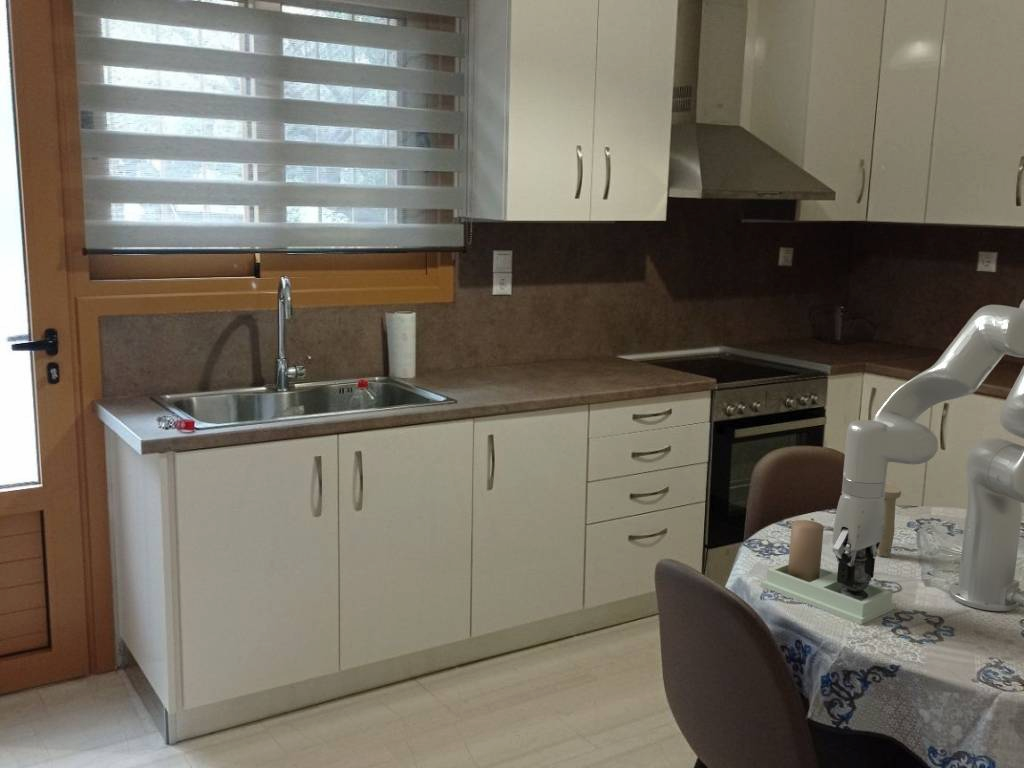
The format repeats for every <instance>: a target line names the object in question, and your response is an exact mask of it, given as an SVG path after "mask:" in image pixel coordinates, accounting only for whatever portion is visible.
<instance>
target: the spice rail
mask: <svg viewBox="0 0 1024 768" xmlns="http://www.w3.org/2000/svg"><path fill="white" fill-rule="evenodd" d="M824 527H825V526H824V525H823V524H822V523H821V522H820V523H819V522H818V521H814V520H807V519H800V520H793V521H792V522H791V527H790V528H791V529H790V539H789V540H790V541H789V553H788V561H786V562H783V563H781V564H778V565H776V566H773V567H770V568H767V569H766V579H765V580H762V581H761V582H760V587H761V588H764V589H765V590H766V589H767V590H769V591H771V590H772V591H771V592H774V591H775V593H776V594H779V593H780V595H783V596H784V595H785V596H784V597H787V598H790V597H791V598H790V599H792V598H793V599H792V600H795V599H796V600H795V601H797V602H800V601H801V602H800V603H803V604H805V603H806V605H808V604H809V605H808V606H811V605H812V606H811V607H813V606H815V607H814V608H816V607H817V609H819V608H820V609H819V610H821V609H822V611H824V610H825V611H824V612H826V611H827V613H830V614H832V615H834V616H837V617H839V616H840V617H839V618H842V617H843V618H842V619H844V620H847V621H850V622H853V623H856V624H858V625H860V626H861V625H864V624H866V623H868V622H870V621H872V620H874V619H876V618H878V617H880V616H883V615H885V614H888V613H889V612H891V611H894V610H897V605H898V604H897V602H894V601H892V600H893V592H894V591H893V590H890V589H889V588H888V589H887V588H884V587H881V586H879V585H876V584H873V583H870V582H869V585H868V587H867V588H866V589H864V591H865V592H866V593H867V594H868V597H867V598H866V599H861V600H857V599H854V598H851V597H848V596H846V595H843V594H840V593H839V590H840V589H842V588H844V586H843V585H842V584H841V583H839V582H837V573H838V571H836V570H832V569H829V568H826V567H824V566H821V562H822V551H823V550H822V549H823V542H824V541H823V538H824V530H825V529H824ZM893 609H894V610H893Z"/></svg>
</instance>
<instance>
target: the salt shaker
mask: <svg viewBox="0 0 1024 768" xmlns="http://www.w3.org/2000/svg"><path fill="white" fill-rule="evenodd" d="M849 548H851V545H849ZM865 551H866V548H864V549H861V550H858V551H857V553H856V557H855V560H854V564H853V565H854V566H855V577H854V585H853V586H851V587H850V586H847V585H845V584H842V583H841V584H842V585H843V586H844V588H842V589H840V590H839V593H840V594H843V595H846V596H848V597H851V598H854V599H857V600H861V599H866V598H867V597H868V594H867V593H866V592H865V591H864V589H866V588H867V587H868V585H869V583H870V582H871V581H872V578H871V576H870V575H868V574H866V573H865V570H864V566H865V560H866V559H867V557H866V556H865ZM850 553H851V552H850V551H848V553H846V554H847V555H848V557H849V556H850Z"/></svg>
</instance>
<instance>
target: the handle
mask: <svg viewBox="0 0 1024 768" xmlns="http://www.w3.org/2000/svg"><path fill="white" fill-rule="evenodd" d="M901 495H902V489H901V488H900V487H899V486H897V485H895V484H887V483H886V487H885V498H884V522H883V533H884V535H883V537H882V539H881V541H880V544H879V546H878V548H877V556H878V557H883V558H884V557H885V558H887V557H889V556H890V555H891V553H892V547H893V542H894V536H895V525H896V524H895V521H896V520H895V519H896V502H897V501H896V500H897V499H898V498H901Z"/></svg>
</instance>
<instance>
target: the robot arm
mask: <svg viewBox="0 0 1024 768" xmlns="http://www.w3.org/2000/svg"><path fill="white" fill-rule="evenodd" d="M1005 355H1008V356H1012V357H1016V358H1024V299H1022V301H1021V303H1020V304H1019V307H1014V306H1009V305H1004V304H1003V305H1002V304H988V305H985V306H984V305H983V306H982V307H980V308H979V309H978V310H976V312H974V314H973V315H972V316H971V317H970V318H969V319H968V320H967V322H966V324H965V325H964V326H963V327H962V328H961V330H960V331H959V333H957V335H956V337H954V338H953V341H952V342H951V343H950V344H949V345H948V347H947V348H946V349H945V350H944V351H943V353H942V354H941V355H940V357H939V358H938V359H937V360H936V362H935V363H934V364H932V366H931V367H929V368H926V370H924V371H921V373H919V374H917V375H915V376H914V377H913V378H911V379H910V380H907V382H905V383H903V384H902V385H900V386H899V387H898V388H897V389H895V390H894V391H893V392H892V393H891V395H890V396H889V397H888V398H887V399H886V400H885V402H884V403H883V404H882V405H881V407H880V408H879V409H878V411H877V412H876V414H875V415H874V417H873V419H872V420H871V419H857V420H854V421H852V422H850V423H848V426H847V430H846V438H845V439H846V440H845V449H844V462H843V471H842V472H843V473H842V483H841V484H842V486H841V495H840V496H839V500H838V503H837V506H836V513H835V519H834V523H833V531H832V537H831V538H832V540H831V541H832V545H833V547H832V552H833V553H834V555H835V558H836V562H837V572H838V573H837V582H839V583H842V584H845V585H847V586H850V587H851V586H853V585H854V577H855V566H854V565H853V564H854V560H855V557H856V553H857V551H858V550H861V549H864V548H866V551H865V556H866V557H867V559H866V560H865V566H864V570H865V573H866V574H868V575H870V576H871V579H872V578H874V573H875V565H876V564H875V563H876V557H877V556H878V555H877V548H878V546H879V544H880V541H881V539H882V537H883V535H884V533H883V522H884V498H885V487H886V484H887V476H888V475H887V474H888V467H889V466H888V464H889V463H896V464H897V463H898V464H903V465H921V464H924V463H927V462H929V461H930V460H931V459H933V457H935V455H936V454H937V452H938V448H939V441H938V437H937V436H936V434H935V433H934V432H933V431H932V430H931V429H930V428H929V427H927V426H926V425H923V424H921V423H920V422H916V420H917V419H918V418H919V417H920V416H921V415H922V414H924V412H926V411H927V410H928V409H930V408H931V407H933V406H935V405H937V404H940V403H944V402H947V401H950V400H956V399H959V398H963V397H967V396H969V395H972V394H974V393H976V391H977V390H978V389H979V388H980V387H981V385H982V384H983V382H984V381H985V380H986V379H987V377H988V376H989V375H990V373H991V372H992V371H993V370H994V369H995V367H996V366H997V364H998V363H999V362H1000V361H1001V359H1002V358H1003V357H1004V356H1005ZM999 422H1000V424H1001V426H1002V428H1003V429H1004V430H1005V431H1006V432H1008V433H1010V434H1012V435H1014V436H1016V437H1018V438H1021V439H1024V365H1023V366H1022V368H1021V370H1020V373H1019V375H1018V376H1017V378H1016V380H1015V381H1014V384H1013V386H1012V388H1011V390H1010V391H1009V393H1008V395H1007V397H1006V399H1005V401H1004V403H1003V405H1002V407H1001V410H1000V413H999ZM965 462H966V465H965V468H966V469H965V470H966V480H967V481H966V483H967V502H966V504H967V505H966V513H965V514H966V515H965V522H964V529H963V530H964V531H963V539H962V547H961V548H962V549H961V555H960V563H959V564H960V566H959V573H958V574H959V575H958V581H956V582H953V583H951V584H950V585H949V586H948V587H949V588H948V594H949V596H950V597H951V598H952V599H954V600H955V601H957V602H958V603H960V604H962V605H964V606H968V607H972V608H975V609H977V610H983V611H990V612H991V611H992V612H1010V611H1014V610H1017V609H1018V608H1019V607H1020V606H1021V605H1024V590H1022V589H1021V588H1020V581H1019V580H1017V579H1015V577H1016V575H1015V574H1016V565H1017V560H1018V558H1017V557H1018V552H1019V551H1018V550H1019V542H1020V534H1021V527H1022V522H1023V521H1022V519H1023V506H1022V504H1024V445H1021V444H1019V443H1016V442H1013V441H1011V440H1007V439H1004V438H1000V437H999V438H998V437H989V438H984V439H982V440H979V441H978V442H976V443H975V444H973V446H972V447H971V448H970V449H969V452H968V454H967V457H966V461H965ZM847 545H849V546H850V545H851V548H850V547H848V546H847ZM846 551H847V552H849V551H850V552H851V553H850V556H849V557H848V555H847V554H848V553H846Z"/></svg>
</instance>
